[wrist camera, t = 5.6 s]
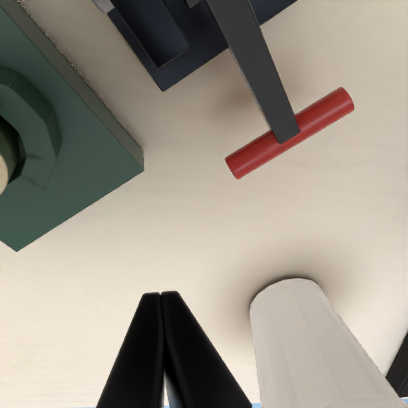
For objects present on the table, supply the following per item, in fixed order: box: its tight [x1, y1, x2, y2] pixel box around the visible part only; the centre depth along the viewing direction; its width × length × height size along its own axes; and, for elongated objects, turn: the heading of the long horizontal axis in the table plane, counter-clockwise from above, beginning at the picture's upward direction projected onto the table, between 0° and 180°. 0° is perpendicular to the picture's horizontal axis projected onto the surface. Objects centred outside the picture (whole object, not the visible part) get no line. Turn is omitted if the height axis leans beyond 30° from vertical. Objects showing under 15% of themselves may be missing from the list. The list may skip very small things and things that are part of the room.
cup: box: [249, 278, 408, 408], centre depth 26 cm, size 10×10×13 cm
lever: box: [183, 0, 354, 179], centre depth 13 cm, size 12×6×2 cm, turn 32°
